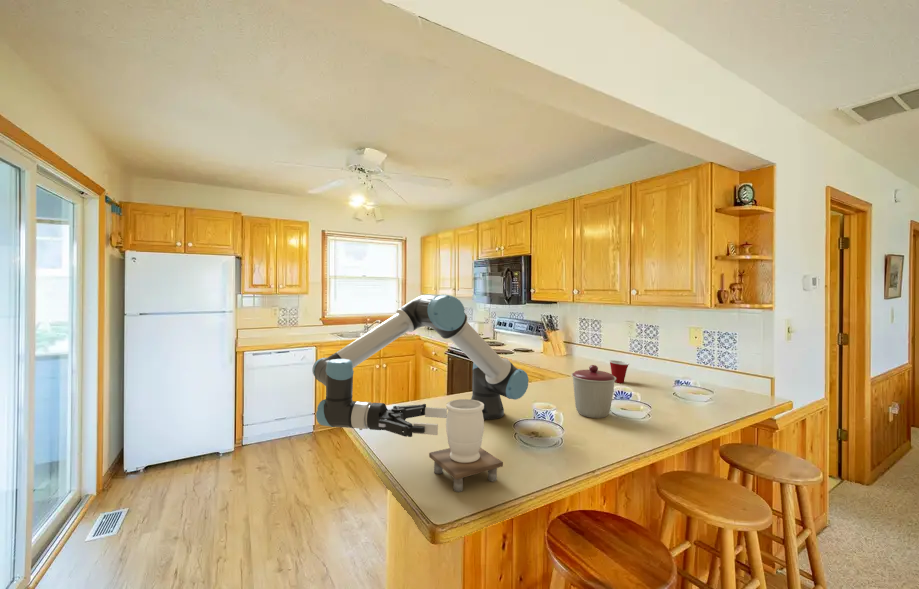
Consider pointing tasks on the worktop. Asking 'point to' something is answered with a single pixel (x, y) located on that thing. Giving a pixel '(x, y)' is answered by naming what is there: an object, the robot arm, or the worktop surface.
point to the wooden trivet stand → (465, 466)
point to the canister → (593, 392)
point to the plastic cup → (618, 370)
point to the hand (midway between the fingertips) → (442, 420)
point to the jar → (465, 429)
